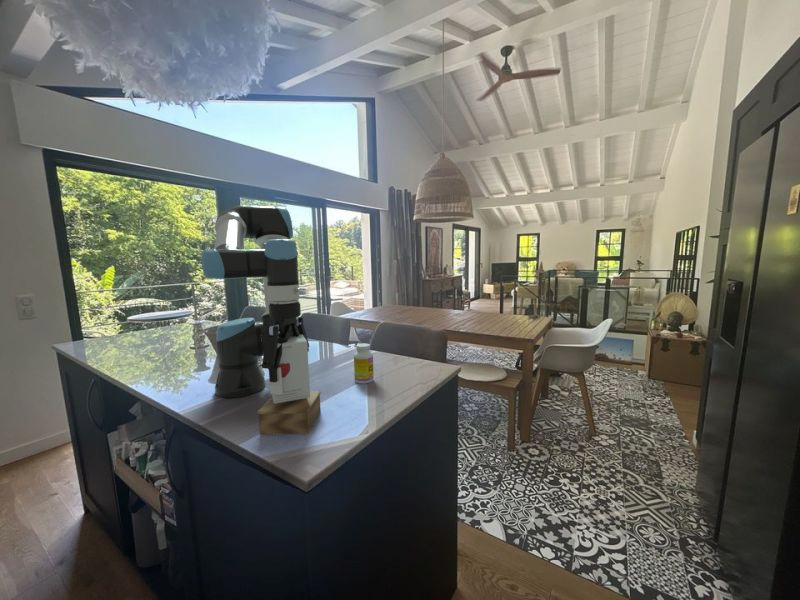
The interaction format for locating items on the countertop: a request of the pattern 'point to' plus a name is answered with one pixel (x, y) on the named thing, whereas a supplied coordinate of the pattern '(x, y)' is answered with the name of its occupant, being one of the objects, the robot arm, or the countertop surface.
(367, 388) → the countertop surface
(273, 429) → the walnut box
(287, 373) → the supplement box
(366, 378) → the supplement bottle
